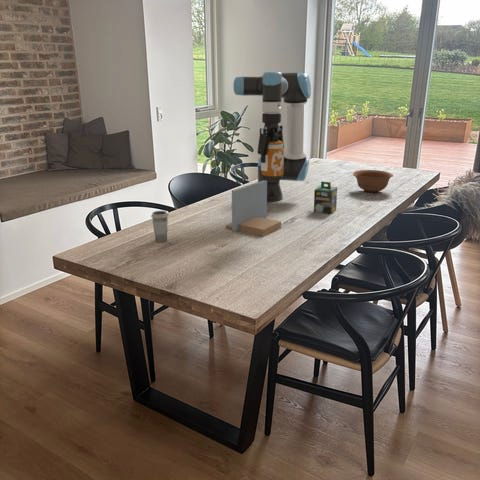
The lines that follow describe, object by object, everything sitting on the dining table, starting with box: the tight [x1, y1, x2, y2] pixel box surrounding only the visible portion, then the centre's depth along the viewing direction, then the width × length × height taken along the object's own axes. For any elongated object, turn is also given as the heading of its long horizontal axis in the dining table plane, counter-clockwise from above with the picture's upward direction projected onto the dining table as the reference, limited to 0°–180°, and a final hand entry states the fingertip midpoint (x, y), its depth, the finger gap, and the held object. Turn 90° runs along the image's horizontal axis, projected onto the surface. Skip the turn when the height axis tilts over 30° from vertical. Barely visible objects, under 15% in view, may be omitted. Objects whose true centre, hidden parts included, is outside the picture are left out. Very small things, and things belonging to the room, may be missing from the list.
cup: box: [150, 210, 169, 243], centre depth 199 cm, size 7×7×12 cm
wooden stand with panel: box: [225, 180, 282, 237], centre depth 216 cm, size 20×24×18 cm
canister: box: [262, 132, 285, 182], centre depth 201 cm, size 9×11×20 cm
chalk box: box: [313, 181, 338, 215], centre depth 239 cm, size 9×9×15 cm
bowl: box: [352, 169, 394, 195], centre depth 275 cm, size 22×22×11 cm
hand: (270, 168), depth 203 cm, fingers closed on canister, 9 cm apart
